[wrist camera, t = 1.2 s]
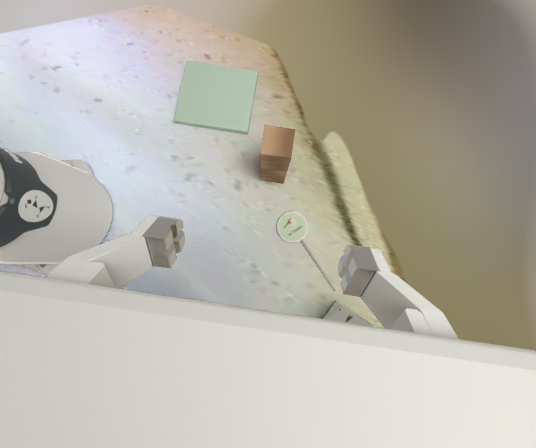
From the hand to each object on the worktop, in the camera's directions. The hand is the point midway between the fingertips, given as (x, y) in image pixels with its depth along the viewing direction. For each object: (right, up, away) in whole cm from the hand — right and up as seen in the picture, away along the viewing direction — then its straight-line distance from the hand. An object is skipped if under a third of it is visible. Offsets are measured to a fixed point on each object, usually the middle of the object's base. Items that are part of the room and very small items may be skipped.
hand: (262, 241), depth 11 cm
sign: (+7, -4, +26) cm, 27 cm away
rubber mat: (-9, +24, +29) cm, 38 cm away
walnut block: (+1, +10, +27) cm, 29 cm away
